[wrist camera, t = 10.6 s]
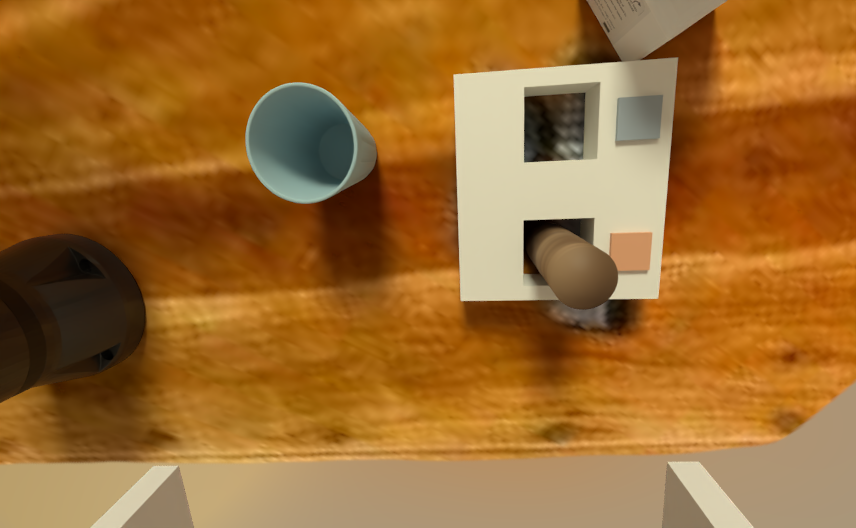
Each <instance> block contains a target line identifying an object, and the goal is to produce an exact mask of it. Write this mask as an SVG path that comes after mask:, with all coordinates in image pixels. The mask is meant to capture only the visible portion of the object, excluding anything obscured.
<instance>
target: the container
mask: <svg viewBox="0 0 856 528" xmlns="http://www.w3.org/2000/svg"><path fill="white" fill-rule="evenodd" d="M726 1H727V0H587V2H588V4H589V5H590V7H591V9H592V11H593V12H594V14H595V16H596V17H597V19H598V21H599V23H600V24H601V26H602V28H603V30H604V31H605V33H606V35H607V36H608V38H609V40H610V42H611V43H612V45H613V47H614V49H615V50H616V52H617V54H618V55H619V57H620V59H621V61H622V62H625V61H638V60H641V59H642V58H644V57H645V56H647V55H648V54H650V53H651V52H653V51H654V50H656V49H657V48H659V47H660V46H662V45H663V44H665V43H666V42H668V41H669V40H671V39H672V38H674V37H675V36H677V35H678V34H680V33H681V32H683V31H684V30H685V29H687V28H688V27H690V26H691V25H693V24H694V23H695V22H697V21H698V20H700V19H701V18H703V17H704V16H706V15H707V14H708V13H710V12H711V11H713V10H714V9H716V8H717V7H718V6H720V5H721V4H723V3H724V2H726Z"/></svg>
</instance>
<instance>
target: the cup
mask: <svg viewBox="0 0 856 528" xmlns="http://www.w3.org/2000/svg"><path fill="white" fill-rule="evenodd" d="M246 150H247V155H248V159H249V161H250V164H251V166H252V169H253V171H254V172H255V174H256V176H257V177H258V179H259V180H260V181H261V182H262V183H263V185H264V186H265V187H266V188H267V189H269V190H270V191H271V192H272V193H274V194H275V195H277V196H279V197H281V198H283V199H285V200H288V201H291V202H295V203H302V204H308V203H316V202H320V201H323V200H326V199H328V198H330V197H332V196H334V195H335V194H337V193H339V192H341V191H342V190H344V189H346V188H348V187H350V186H352V185H354V184H356V183H358V182H359V181H361V180H363V179H364V178H366V177H367V176H368V174H369V173H370V172H371V171H372V170H373V168H374V165H375V162H376V158H377V150H376V144H375V141H374V139H373V137H372V136H371V134H370V133H369V131H368V130H367V129H366V128H365V127H364V126H363V125H362V124H361V123H360V122H359V121H358V120H357V119H356V118H355V117H354V116H353V114H352V113H351V112H350V111H349V110H348V109H347V108H346V107H345V106H344V105H343V104H342V103H341V102H340V101H339V100H338V99H337V98H336V97H335V96H333V95H332V94H331V93H329V92H328V91H326V90H324V89H322V88H320V87H318V86H315V85H312V84H308V83H288V84H284V85H281V86H278V87H276V88H274V89H272V90H271V91H269V92H268V93H266V94H265V95H264V96H263V97H262V98H261V99H260V100H259V101H258V103H257V104H256V105H255V107H254V109H253V111H252V112H251V115H250V117H249V120H248V123H247V128H246Z"/></svg>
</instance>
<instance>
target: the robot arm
mask: <svg viewBox="0 0 856 528" xmlns="http://www.w3.org/2000/svg"><path fill="white" fill-rule="evenodd" d="M144 323H145V312H144V305H143V300H142V297H141V293H140V291H139V288H138V286H137V284H136V282H135V280H134V278H133V277H132V275H131V273H130V272H129V271H128V269H127V268H126V267H125V265H124V264H123V263H122V262H121V261H120V260H119V259H118V258H117V257H116V256H115V255H114V254H113V253H112V252H110V251H109V250H108V249H106V248H105V247H103V246H102V245H100V244H98V243H97V242H95V241H92V240H90V239H88V238H85V237H82V236H78V235H72V234H55V235H48V236H42V237H36V238H31V239H27V240H24V241H22V242H19V243H17V244H15V245H13V246H11V247H9V248H7V249H5V250H3V251H1V252H0V403H1V402H3V401H5V400H7V399H9V398H11V397H13V396H15V395H17V394H19V393H21V392H23V391H25V390H28V389H30V388H32V387H37V386H42V385H47V384H52V383H57V382H62V381H67V380H72V379H77V378H82V377H87V376H91V375H95V374H97V373H100V372H102V371H105V370H107V369H108V368H110V367H112V366H114V365H116V364H118V363H120V362H121V361H123V360H124V359H126V358H127V357H128V356H129V355H131V353H132V352H133V351H134V350H135V349H136V347H137V345H138V344H139V342H140V339H141V337H142V334H143V330H144ZM90 528H194V526H193V522H192V518H191V514H190V510H189V505H188V501H187V497H186V493H185V489H184V485H183V481H182V477H181V473H180V469H179V466H153V467H152V468H151V469H150V470H149V471H148V472H147V473H146V474H145V475H144V476H142V477H141V478H140V479H139V480H138V481H137V482H136V483H135V484H134V485H133V486H132V487H131V488H130V489H129V490H128V491H127V492H126V493H125V494H124V495H123V496H122V497H121V498H120V499H119V500H118V501H117V502H116V503H115V504H114V505H113V506H112V507H111V508H110V509H109V510H108V511H107V512H106V513H105V514H104V515H102V517H101V518H100V519H98V520H97V521H96V522H95V523H94V524H93V525H92V526H91V527H90ZM662 528H754V527H753V526H752V525H751V524H750V523H749V521H748V520H747V519H746V518H745V517H744V515H743V514H742V513H741V512H740V511H739V509H738V508H737V507H736V506H735V505H734V503H733V502H732V501H731V500H730V499H729V497H728V496H727V495H726V494H725V492H724V491H723V490H722V489H721V488H720V486H719V485H718V484H717V483H716V482H715V480H714V479H713V478H712V477H711V476H710V474H709V473H708V472H707V471H706V469H705V468H704V467H703V466H702V465H701V463H700V462H667V471H666V483H665V496H664V508H663V521H662Z"/></svg>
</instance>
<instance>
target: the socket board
mask: <svg viewBox="0 0 856 528" xmlns="http://www.w3.org/2000/svg"><path fill="white" fill-rule="evenodd" d="M677 66H678V57H677V58H664V59H651V60H638V61H625V62H612V63H599V64H586V65H573V66H560V67H547V68H534V69H521V70H508V71H495V72H482V73H469V74H456V75H454V101H455V133H456V166H457V198H458V230H459V262H460V295H461V301H504V300H559V299H558V298H557V297H556V295H555V294H554V292H553V291H552V289H551V288H550V286H549V285H548V284H547V282H546V281H545V279H544V278H543V276H542V275H541V274H523V228H524V220H547V219H576V218H581V227H580V238H582V239H584V240H585V241H587V242H589V243H590V244H592V245H594V246H595V247H597V248H599V249H600V250H602V251H604V252H605V253H607V254H608V255H609V256H610V257H611V258H612V259H613V261H614V262H615V264H616V267H617V270H618V283H617V287H616V289H615V291H614V293H613V294H612V296H611V297H610V298H609V299H658V295H659V283H660V271H661V258H662V246H663V234H664V222H665V210H666V198H667V186H668V174H669V162H670V150H671V138H672V126H673V114H674V102H675V90H676V78H677ZM570 93H585V118H584V145H583V160H569V161H549V162H529V163H524V97H527V96H541V95H556V94H570Z"/></svg>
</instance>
